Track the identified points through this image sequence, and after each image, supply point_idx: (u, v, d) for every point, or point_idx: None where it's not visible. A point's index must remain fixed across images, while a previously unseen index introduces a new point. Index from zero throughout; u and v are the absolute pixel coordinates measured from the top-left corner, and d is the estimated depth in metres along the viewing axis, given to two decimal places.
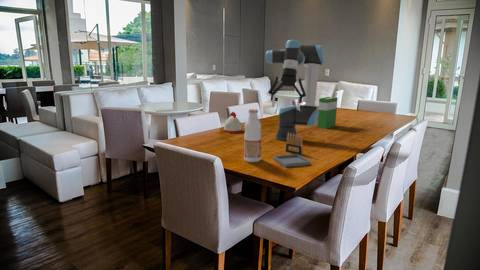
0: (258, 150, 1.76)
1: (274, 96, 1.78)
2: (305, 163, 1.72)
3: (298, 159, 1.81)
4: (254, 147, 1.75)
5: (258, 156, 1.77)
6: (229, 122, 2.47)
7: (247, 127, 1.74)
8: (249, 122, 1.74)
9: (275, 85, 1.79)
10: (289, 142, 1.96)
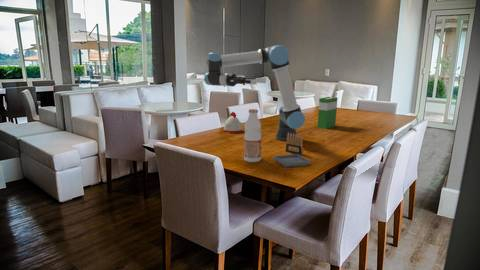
0: (258, 150, 1.76)
1: (256, 81, 1.95)
2: (305, 163, 1.72)
3: (298, 159, 1.81)
4: (254, 147, 1.75)
5: (258, 156, 1.77)
6: (229, 122, 2.47)
7: (247, 127, 1.74)
8: (249, 122, 1.74)
9: None
10: (289, 142, 1.96)
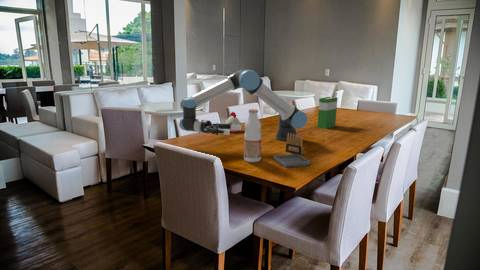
0: (258, 150, 1.76)
1: (231, 128, 1.91)
2: (305, 163, 1.72)
3: (298, 159, 1.81)
4: (254, 147, 1.75)
5: (258, 156, 1.77)
6: (229, 122, 2.47)
7: (247, 127, 1.74)
8: (249, 122, 1.74)
9: None
10: (289, 142, 1.96)
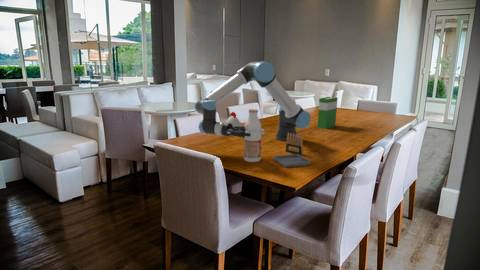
0: (258, 150, 1.76)
1: None
2: (305, 163, 1.72)
3: (298, 159, 1.81)
4: (253, 147, 1.75)
5: (258, 156, 1.77)
6: (229, 122, 2.47)
7: (247, 127, 1.74)
8: (249, 122, 1.74)
9: None
10: (289, 142, 1.96)
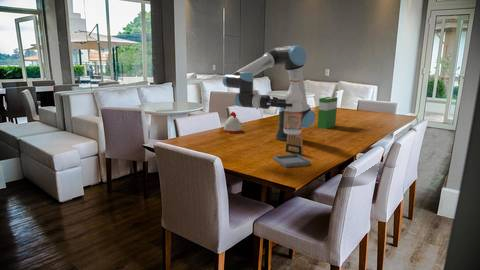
0: (299, 122, 1.69)
1: None
2: (305, 163, 1.72)
3: (298, 159, 1.81)
4: (295, 118, 1.68)
5: (299, 128, 1.70)
6: (229, 122, 2.47)
7: (288, 97, 1.67)
8: (291, 92, 1.67)
9: None
10: (289, 142, 1.96)
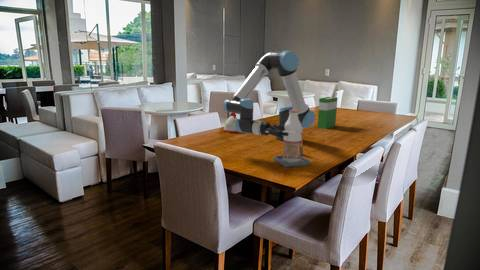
0: (298, 151, 1.73)
1: None
2: (305, 163, 1.72)
3: None
4: (294, 147, 1.72)
5: (298, 157, 1.74)
6: (229, 122, 2.47)
7: (288, 127, 1.70)
8: (290, 122, 1.70)
9: None
10: None
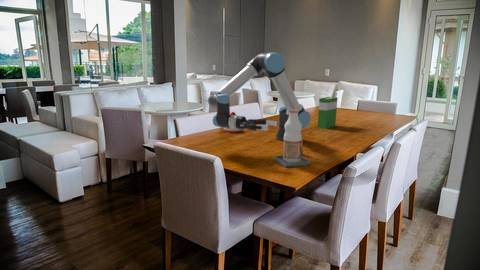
0: (298, 151, 1.73)
1: (267, 124, 1.88)
2: (305, 163, 1.72)
3: None
4: (294, 147, 1.72)
5: (298, 157, 1.74)
6: None
7: (288, 128, 1.70)
8: (290, 122, 1.70)
9: None
10: None
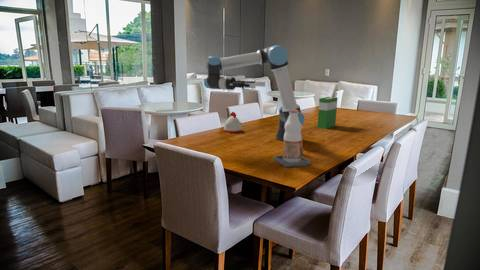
0: (298, 151, 1.73)
1: (255, 85, 1.96)
2: (305, 163, 1.72)
3: None
4: (294, 147, 1.72)
5: (298, 157, 1.74)
6: (229, 122, 2.47)
7: (288, 128, 1.70)
8: (290, 122, 1.70)
9: None
10: None
